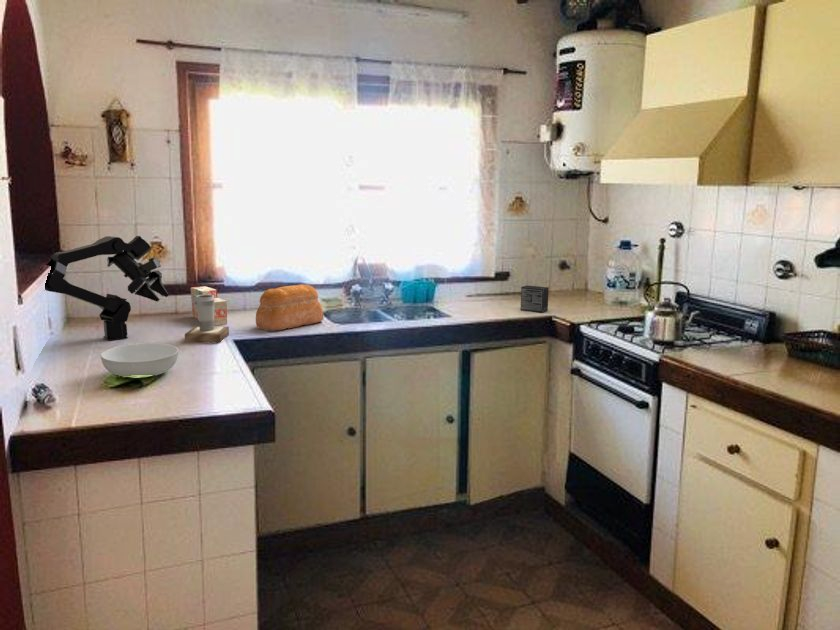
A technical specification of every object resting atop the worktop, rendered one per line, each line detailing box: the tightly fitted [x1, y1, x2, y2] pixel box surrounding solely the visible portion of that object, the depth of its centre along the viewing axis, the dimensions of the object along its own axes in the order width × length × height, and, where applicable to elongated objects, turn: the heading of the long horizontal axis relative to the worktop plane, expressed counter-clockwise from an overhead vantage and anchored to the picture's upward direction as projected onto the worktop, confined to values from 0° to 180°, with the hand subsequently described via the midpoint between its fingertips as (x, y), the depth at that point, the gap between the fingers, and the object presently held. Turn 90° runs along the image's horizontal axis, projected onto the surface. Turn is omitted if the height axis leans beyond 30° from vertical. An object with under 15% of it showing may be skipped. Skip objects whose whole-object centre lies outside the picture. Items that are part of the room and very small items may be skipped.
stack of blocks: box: [190, 285, 228, 327], centre depth 274 cm, size 21×6×12 cm, turn 38°
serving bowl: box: [100, 342, 179, 377], centre depth 201 cm, size 21×21×7 cm
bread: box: [255, 283, 324, 331], centre depth 268 cm, size 14×26×15 cm, turn 139°
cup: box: [195, 295, 215, 331], centre depth 244 cm, size 7×7×12 cm
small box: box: [520, 284, 549, 314], centre depth 301 cm, size 11×6×10 cm, turn 58°
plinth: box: [184, 326, 230, 344], centre depth 245 cm, size 12×12×3 cm
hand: (163, 298), depth 246 cm, fingers open, 9 cm apart
